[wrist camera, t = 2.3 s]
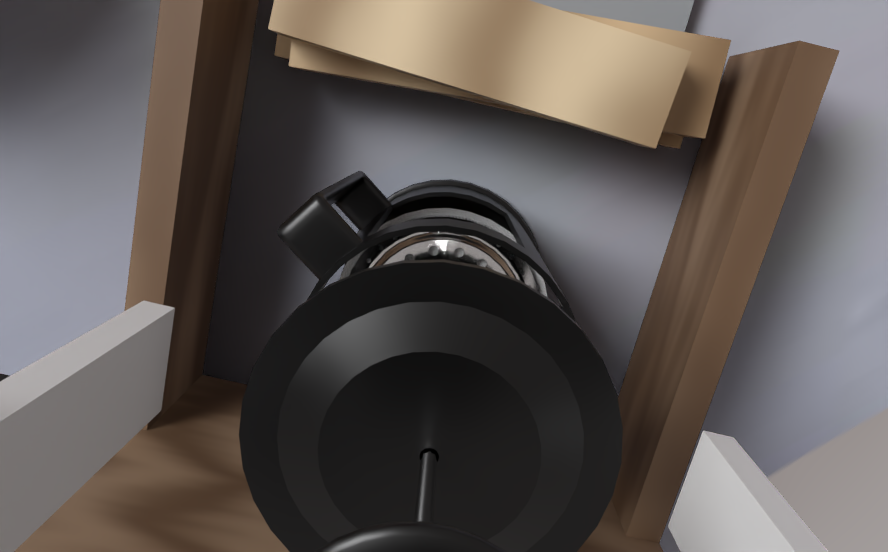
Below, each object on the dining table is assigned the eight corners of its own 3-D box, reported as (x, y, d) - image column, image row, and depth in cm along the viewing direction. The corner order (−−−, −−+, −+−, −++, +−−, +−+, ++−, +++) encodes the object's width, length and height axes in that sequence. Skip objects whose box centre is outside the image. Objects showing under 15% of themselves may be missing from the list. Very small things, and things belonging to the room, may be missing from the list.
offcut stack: (285, 67, 29) (242, 54, 23) (302, -42, 28) (261, -84, 22) (667, 154, 30) (717, 163, 24) (698, 51, 29) (759, 34, 23)
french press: (588, 295, 31) (915, 738, 9) (444, 409, 33) (415, 1026, 11) (430, 108, 29) (342, 78, 7) (285, 240, 31) (-164, 556, 9)
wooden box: (170, 389, 33) (-58, 604, 18) (233, -67, 28) (-16, -273, 13) (617, 488, 34) (738, 769, 19) (761, 64, 28) (1079, 8, 14)
